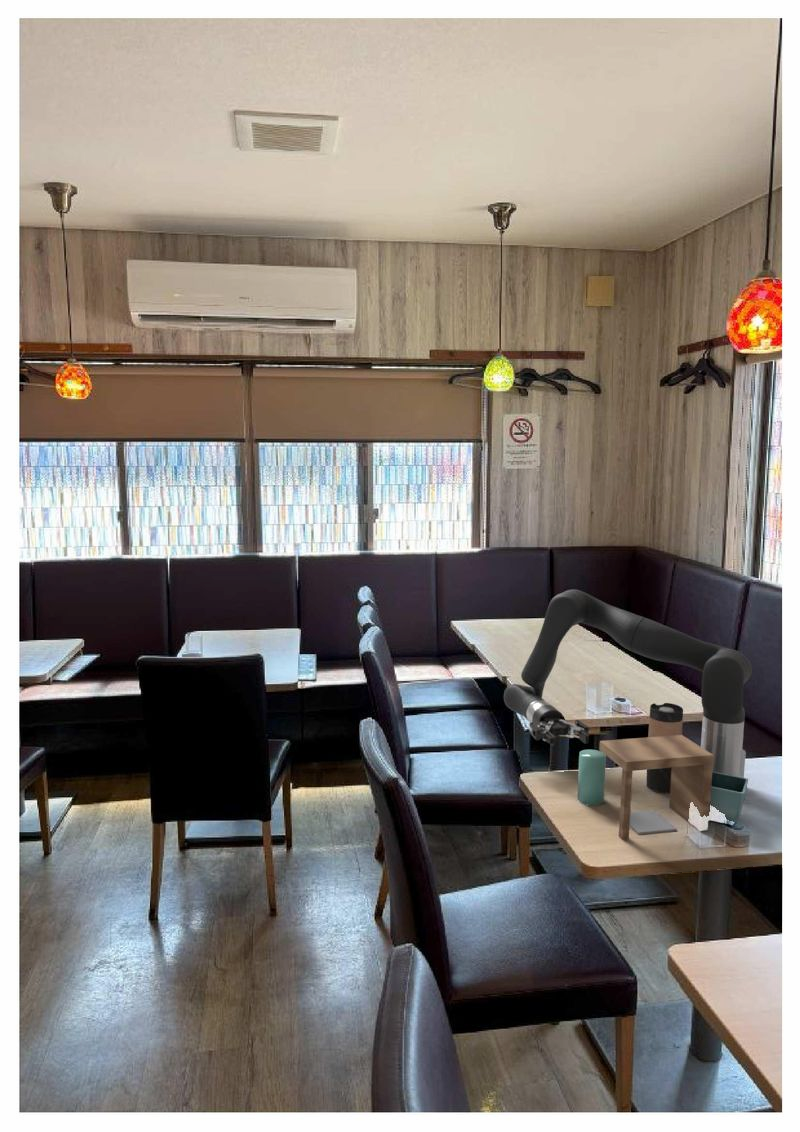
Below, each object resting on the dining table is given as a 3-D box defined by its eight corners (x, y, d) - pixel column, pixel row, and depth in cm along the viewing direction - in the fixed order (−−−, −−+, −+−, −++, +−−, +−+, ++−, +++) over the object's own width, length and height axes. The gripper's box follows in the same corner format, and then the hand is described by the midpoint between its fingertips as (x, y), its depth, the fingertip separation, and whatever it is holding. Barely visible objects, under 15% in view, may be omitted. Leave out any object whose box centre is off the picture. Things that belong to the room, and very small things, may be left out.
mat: (654, 811, 177) (654, 809, 177) (676, 830, 168) (676, 828, 168) (617, 815, 175) (618, 813, 175) (638, 834, 166) (638, 832, 166)
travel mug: (672, 796, 184) (677, 714, 182) (640, 788, 189) (645, 708, 186) (682, 786, 190) (688, 706, 188) (651, 777, 195) (656, 700, 192)
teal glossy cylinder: (596, 793, 186) (598, 748, 185) (608, 804, 180) (610, 758, 179) (573, 795, 185) (574, 750, 183) (584, 806, 179) (586, 760, 178)
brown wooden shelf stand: (677, 806, 180) (681, 734, 177) (708, 830, 168) (713, 754, 166) (596, 813, 175) (599, 740, 173) (622, 839, 164) (626, 762, 161)
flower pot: (741, 833, 167) (744, 793, 166) (697, 823, 172) (700, 784, 170) (745, 816, 175) (748, 778, 174) (703, 807, 179) (706, 770, 178)
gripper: (520, 705, 206) (544, 727, 190) (570, 703, 209) (598, 724, 193) (518, 733, 207) (542, 757, 191) (569, 730, 210) (596, 753, 194)
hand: (570, 740), depth 192 cm, fingers open, 8 cm apart
